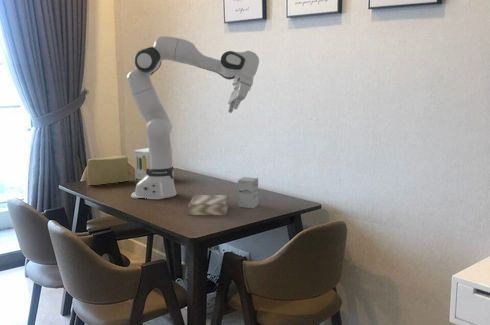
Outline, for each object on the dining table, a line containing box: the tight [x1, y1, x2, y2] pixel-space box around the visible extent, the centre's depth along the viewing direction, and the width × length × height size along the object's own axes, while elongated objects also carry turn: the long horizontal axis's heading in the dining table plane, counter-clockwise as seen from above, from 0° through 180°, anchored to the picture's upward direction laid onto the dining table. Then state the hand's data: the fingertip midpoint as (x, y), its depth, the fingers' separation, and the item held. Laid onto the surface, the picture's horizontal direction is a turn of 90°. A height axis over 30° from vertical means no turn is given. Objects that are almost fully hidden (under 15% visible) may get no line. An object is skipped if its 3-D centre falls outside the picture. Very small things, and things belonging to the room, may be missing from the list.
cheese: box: [86, 154, 130, 186], centre depth 284 cm, size 22×10×15 cm, turn 127°
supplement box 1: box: [133, 147, 150, 179], centre depth 293 cm, size 13×13×18 cm
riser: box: [187, 194, 230, 216], centre depth 224 cm, size 16×16×5 cm
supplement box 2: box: [237, 176, 259, 209], centre depth 230 cm, size 7×7×13 cm
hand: (232, 110), depth 240 cm, fingers open, 8 cm apart
